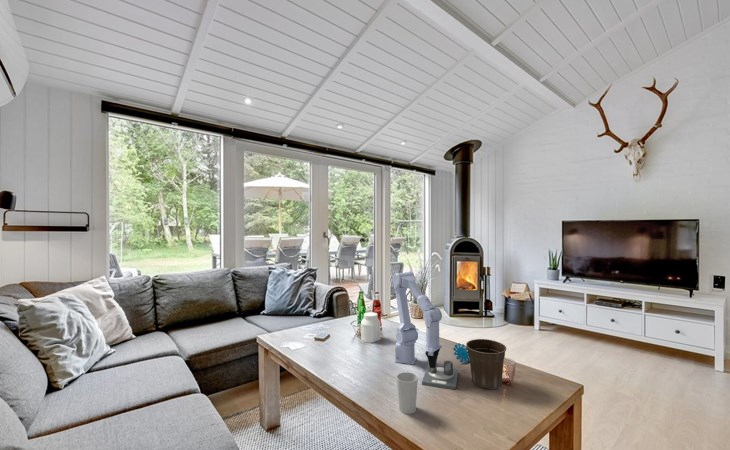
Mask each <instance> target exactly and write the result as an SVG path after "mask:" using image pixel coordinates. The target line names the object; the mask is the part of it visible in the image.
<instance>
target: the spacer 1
mask: <svg viewBox="0 0 730 450" xmlns="http://www.w3.org/2000/svg"><path fill="white" fill-rule="evenodd" d="M437 362H438V358H437V359H436V365H435V368H430V366H429V361H428V360H427V367H428V371H429V372H431V373H435V372H437V367H438V363H437Z"/></svg>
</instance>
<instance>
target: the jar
mask: <svg viewBox="0 0 730 450" xmlns="http://www.w3.org/2000/svg"><path fill="white" fill-rule="evenodd" d="M378 316H379V315H378V313H377V312H371V311H369V312H365V313H363V317H362V318H363V319H362V320H361V322H360V326H361V327H360V330H361V331H360V333H361V335H360V336H361V337H360V339H361V341H362V342H363V343H367V344H369V343H370V344H373V343H375V342H377V341H380V340H381V338H382V337H381V320H380V319H379V318H378Z"/></svg>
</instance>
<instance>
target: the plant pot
mask: <svg viewBox="0 0 730 450" xmlns="http://www.w3.org/2000/svg"><path fill="white" fill-rule="evenodd" d="M465 346H466V347H467V348H468V350H467V351H468V354H469V357H468V358H470V362H469V366H470V374H471V375H470V376H471V382H472V383H473V384H474V385H475V386H476V387H478V388H481V389H483V388H485V389H486V390H496V389H497V390H498V389H499V388H501V387H502V384H503V372H504V371H503V370H504V359H505V358H506V352H507V346H506V345H505V344H503V343H502V342H500V341H496V340H494V339H493V340H492V339H488V338H477V339H471V340H468V341H467V342H466V344H465Z"/></svg>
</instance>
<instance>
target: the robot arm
mask: <svg viewBox="0 0 730 450" xmlns="http://www.w3.org/2000/svg"><path fill="white" fill-rule="evenodd" d="M416 277H417V276H415V274H414V272H412V271H408V272H395V273H394V274H393V276H392V284H393V290H394V291H395V297H396V298H395V299H396V304H397V310H398V312H397V313H398V316H399V324H398V326H397V327H396V328H395V329H396V343H395V349H394V351H395V355H394V357H395V360H394V362H395V363H400V364H407V365H414V364H416V360H417V359H418V357H416V355H415V354H416V353H415V352H416V351H415V348H416V347H415V346H416V343H417V340H418V339H419V333H418V330H417V328H416V327H417V326H416V325H415V324H414V323H412V322H411V321H412V320H411V315H410V309H409V303H408V298H407V292H406V291H407V290H408V289H409V291H410V292H411V293H412V294H413V296H414V297H415V298H416V304H417V306H418V307H419V309H420V310H421V312H422V314H423V319H424V323H425V327H426V332H425V333H426V345H425V346H426V351H425V356H426V358H427V362H428V361H429V366H430V368H435V365H436V359H437V360H438V356H439V354H440V353H439V352H440V350H441V349H442V348H443V345H440V321H441V320H442V318H443V314H442V311H441V310H440V308H438V307H436V306H434V304H433V303H432V302H431V299H430V298H429V297H428V296H427V295H424V294H423V292H422V291H421V289H420V287H419V285H418V283H417V282H416V281H417V279H416Z"/></svg>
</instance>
